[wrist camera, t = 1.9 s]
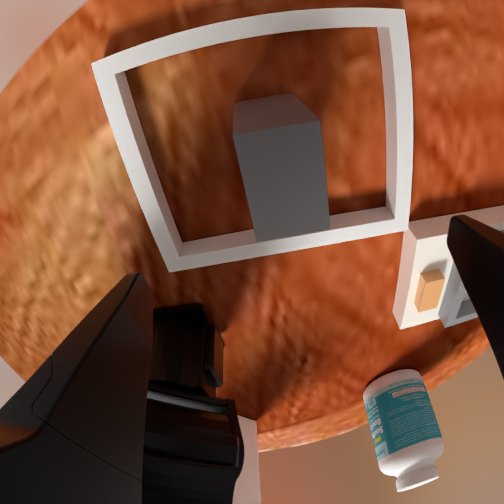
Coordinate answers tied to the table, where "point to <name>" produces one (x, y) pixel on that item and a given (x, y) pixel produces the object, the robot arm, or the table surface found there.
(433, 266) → the power strip
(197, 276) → the table surface
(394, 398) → the pill bottle
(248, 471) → the milk
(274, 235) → the plug
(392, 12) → the white square frame
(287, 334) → the table surface
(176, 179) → the table surface
